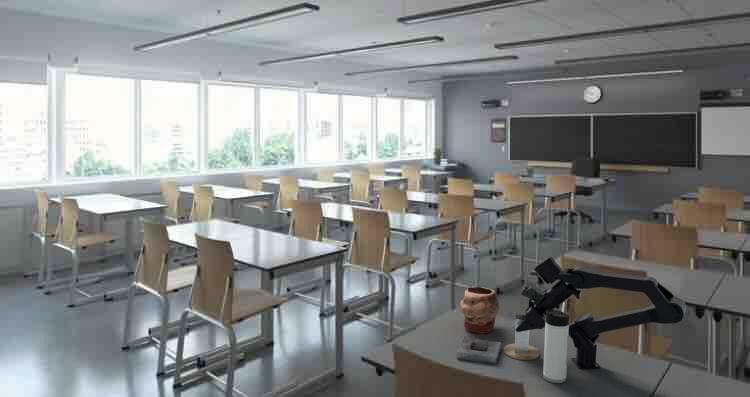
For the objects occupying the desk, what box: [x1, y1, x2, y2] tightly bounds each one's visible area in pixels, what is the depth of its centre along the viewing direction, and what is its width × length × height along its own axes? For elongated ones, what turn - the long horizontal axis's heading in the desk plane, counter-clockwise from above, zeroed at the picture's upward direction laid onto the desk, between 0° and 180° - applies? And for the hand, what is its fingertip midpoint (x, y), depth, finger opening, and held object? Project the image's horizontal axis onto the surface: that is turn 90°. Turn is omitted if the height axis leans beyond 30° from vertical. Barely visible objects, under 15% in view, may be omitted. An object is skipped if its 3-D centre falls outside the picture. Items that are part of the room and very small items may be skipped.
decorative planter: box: [459, 286, 500, 334], centre depth 191 cm, size 20×12×14 cm, turn 142°
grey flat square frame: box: [456, 337, 502, 365], centre depth 171 cm, size 12×12×2 cm
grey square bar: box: [514, 309, 530, 354], centre depth 170 cm, size 4×4×12 cm
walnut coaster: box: [503, 343, 541, 361], centre depth 171 cm, size 11×11×1 cm
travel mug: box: [542, 309, 570, 384], centre depth 153 cm, size 6×7×20 cm
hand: (517, 325), depth 171 cm, fingers open, 9 cm apart
